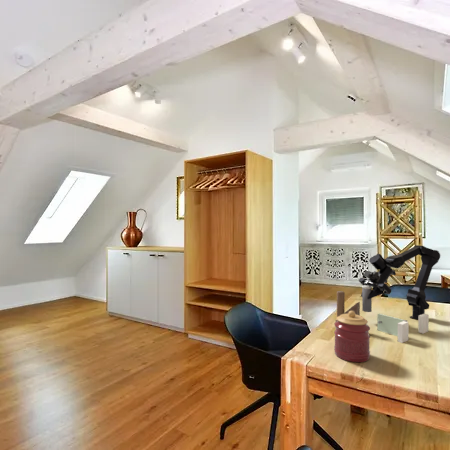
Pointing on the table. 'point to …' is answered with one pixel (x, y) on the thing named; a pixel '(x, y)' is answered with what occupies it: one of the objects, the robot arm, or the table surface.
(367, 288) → the post
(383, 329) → the door
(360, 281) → the robot arm
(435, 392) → the table surface
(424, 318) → the wall frame
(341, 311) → the toy block tower
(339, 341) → the canister
